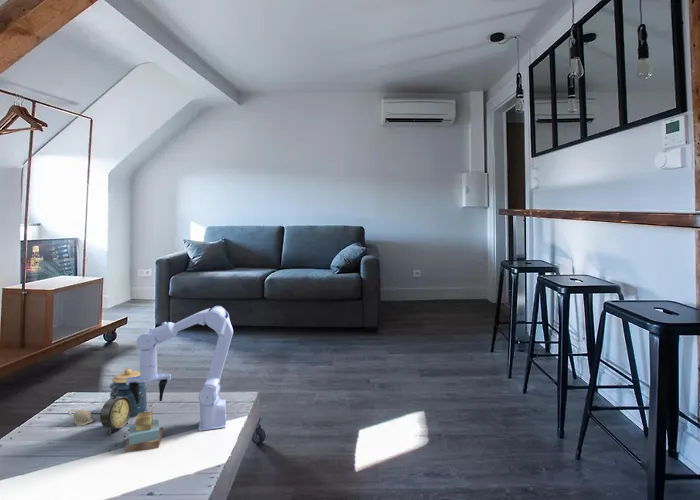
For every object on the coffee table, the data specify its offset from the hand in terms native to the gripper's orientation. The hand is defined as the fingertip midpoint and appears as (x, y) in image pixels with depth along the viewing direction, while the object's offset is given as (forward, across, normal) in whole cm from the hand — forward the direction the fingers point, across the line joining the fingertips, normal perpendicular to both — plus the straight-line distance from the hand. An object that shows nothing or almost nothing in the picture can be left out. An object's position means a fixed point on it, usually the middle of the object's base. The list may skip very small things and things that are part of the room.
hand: (149, 401), depth 148 cm
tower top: (+8, 0, -10) cm, 13 cm away
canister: (+11, -11, +18) cm, 24 cm away
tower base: (+11, 0, -10) cm, 15 cm away
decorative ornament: (+11, -26, +13) cm, 31 cm away
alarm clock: (+11, -12, +3) cm, 16 cm away
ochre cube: (+5, 0, -10) cm, 11 cm away
